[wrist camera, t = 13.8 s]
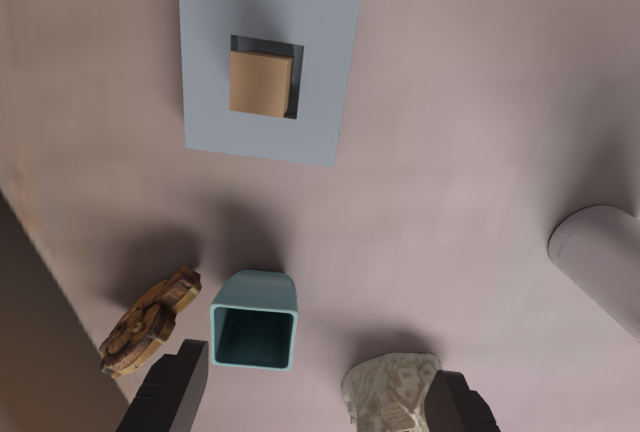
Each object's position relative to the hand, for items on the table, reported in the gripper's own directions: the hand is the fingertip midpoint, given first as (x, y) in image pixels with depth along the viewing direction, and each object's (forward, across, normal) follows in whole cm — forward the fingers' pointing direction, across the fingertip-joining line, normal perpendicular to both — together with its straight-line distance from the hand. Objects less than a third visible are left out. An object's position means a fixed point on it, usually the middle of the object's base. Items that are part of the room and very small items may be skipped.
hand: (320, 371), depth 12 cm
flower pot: (+27, +5, +18) cm, 33 cm away
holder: (+26, +6, -7) cm, 28 cm away
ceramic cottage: (+28, -16, +36) cm, 48 cm away
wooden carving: (+26, +18, +21) cm, 38 cm away
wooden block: (+26, +6, -7) cm, 27 cm away
